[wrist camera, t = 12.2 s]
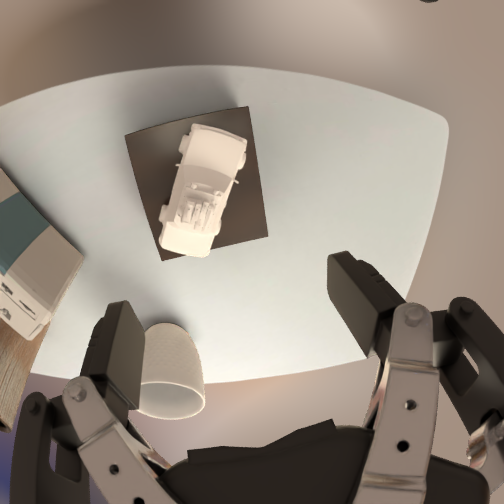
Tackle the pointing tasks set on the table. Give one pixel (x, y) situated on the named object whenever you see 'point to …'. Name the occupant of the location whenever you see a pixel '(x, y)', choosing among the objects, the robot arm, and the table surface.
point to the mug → (171, 374)
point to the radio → (31, 263)
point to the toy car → (201, 189)
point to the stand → (165, 170)
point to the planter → (15, 369)
